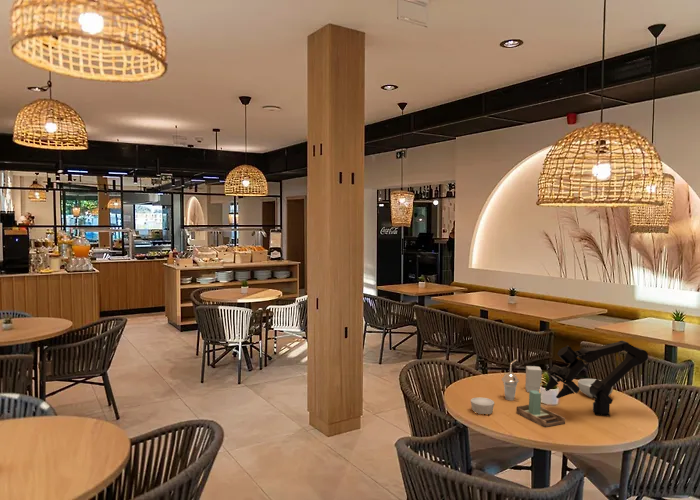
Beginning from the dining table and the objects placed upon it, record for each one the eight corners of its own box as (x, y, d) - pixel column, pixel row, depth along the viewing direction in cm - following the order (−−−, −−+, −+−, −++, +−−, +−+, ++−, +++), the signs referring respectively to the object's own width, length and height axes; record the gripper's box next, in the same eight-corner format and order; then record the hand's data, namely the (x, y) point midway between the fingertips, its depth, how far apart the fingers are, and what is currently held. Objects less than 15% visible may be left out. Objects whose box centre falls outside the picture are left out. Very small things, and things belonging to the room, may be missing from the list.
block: (535, 410, 248) (536, 390, 248) (540, 414, 244) (540, 393, 243) (528, 411, 248) (529, 390, 247) (533, 414, 243) (533, 393, 243)
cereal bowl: (619, 397, 273) (619, 384, 272) (601, 403, 263) (602, 390, 263) (588, 388, 287) (589, 376, 286) (570, 394, 277) (571, 381, 277)
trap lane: (565, 423, 236) (565, 416, 236) (544, 427, 232) (545, 420, 231) (535, 409, 253) (536, 403, 253) (516, 413, 249) (516, 406, 248)
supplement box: (541, 393, 278) (542, 370, 277) (526, 392, 279) (527, 369, 278) (539, 389, 285) (540, 366, 284) (525, 388, 286) (525, 365, 286)
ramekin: (474, 405, 258) (474, 395, 257) (496, 410, 252) (497, 399, 252) (467, 413, 248) (467, 402, 248) (490, 417, 242) (490, 406, 242)
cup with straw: (497, 396, 271) (499, 359, 270) (513, 395, 274) (514, 358, 272) (507, 402, 263) (508, 363, 262) (522, 401, 265) (523, 362, 264)
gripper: (551, 353, 255) (530, 376, 254) (574, 365, 237) (551, 390, 236) (565, 367, 257) (544, 390, 256) (589, 380, 239) (566, 405, 238)
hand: (551, 394), depth 247 cm, fingers open, 9 cm apart
